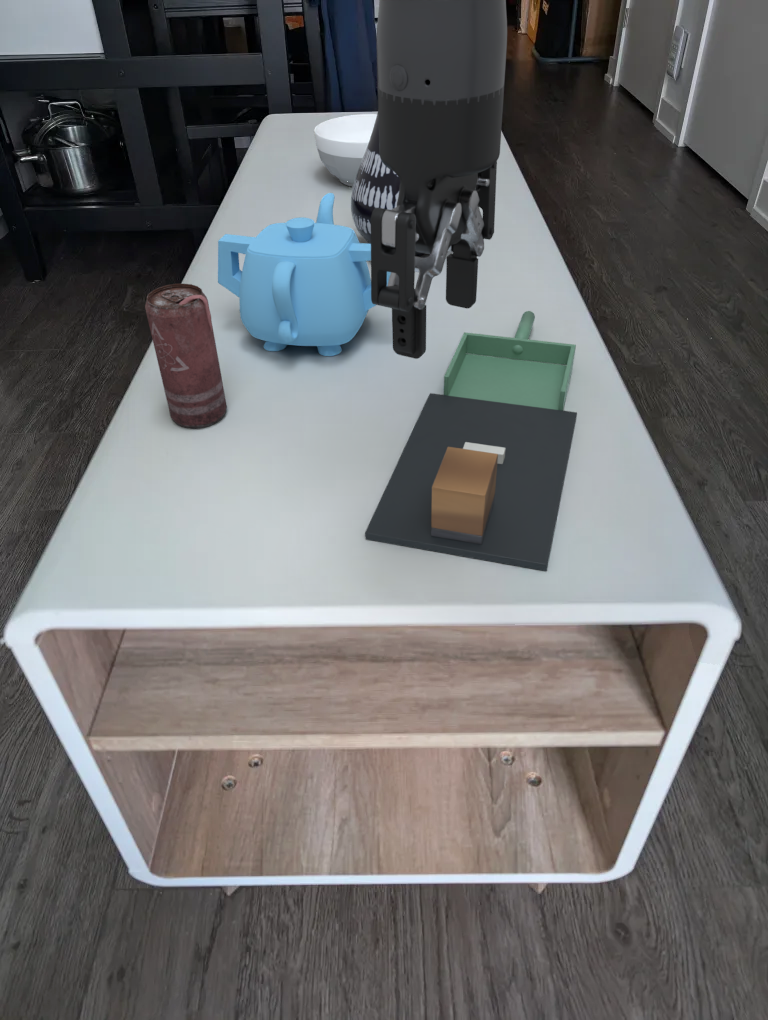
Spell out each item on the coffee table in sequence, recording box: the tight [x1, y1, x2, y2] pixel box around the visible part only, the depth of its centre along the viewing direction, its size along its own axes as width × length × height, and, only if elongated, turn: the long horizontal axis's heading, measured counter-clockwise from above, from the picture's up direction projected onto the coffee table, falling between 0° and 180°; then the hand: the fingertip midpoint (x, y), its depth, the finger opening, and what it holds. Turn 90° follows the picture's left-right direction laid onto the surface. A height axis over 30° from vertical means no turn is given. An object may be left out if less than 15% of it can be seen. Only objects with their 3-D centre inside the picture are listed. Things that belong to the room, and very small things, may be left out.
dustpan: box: [443, 310, 577, 411], centre depth 93 cm, size 19×13×3 cm
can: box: [144, 283, 228, 429], centre depth 82 cm, size 6×6×14 cm
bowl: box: [313, 113, 377, 188], centre depth 144 cm, size 19×19×9 cm
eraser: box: [431, 447, 498, 545], centre depth 69 cm, size 6×4×6 cm
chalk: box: [463, 442, 506, 464], centre depth 78 cm, size 1×4×1 cm, turn 74°
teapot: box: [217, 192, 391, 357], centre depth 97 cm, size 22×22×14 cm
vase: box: [350, 112, 426, 257], centre depth 111 cm, size 16×16×30 cm
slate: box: [364, 392, 578, 572], centre depth 77 cm, size 24×16×1 cm, turn 164°
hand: (436, 328), depth 57 cm, fingers open, 8 cm apart
